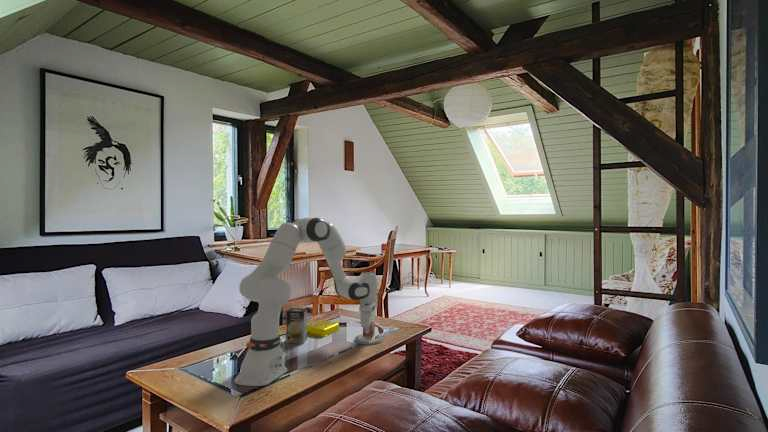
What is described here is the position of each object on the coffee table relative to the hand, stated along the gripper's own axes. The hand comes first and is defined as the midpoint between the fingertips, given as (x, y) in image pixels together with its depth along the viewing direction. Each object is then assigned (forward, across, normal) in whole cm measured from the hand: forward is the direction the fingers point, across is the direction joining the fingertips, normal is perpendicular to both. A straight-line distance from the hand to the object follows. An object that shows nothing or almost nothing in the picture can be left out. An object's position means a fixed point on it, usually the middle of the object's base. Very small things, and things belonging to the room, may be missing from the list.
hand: (368, 331), depth 212 cm
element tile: (+5, -10, -28) cm, 30 cm away
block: (+2, 0, 0) cm, 2 cm away
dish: (+4, 0, 0) cm, 5 cm away
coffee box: (+5, +8, -35) cm, 36 cm away
